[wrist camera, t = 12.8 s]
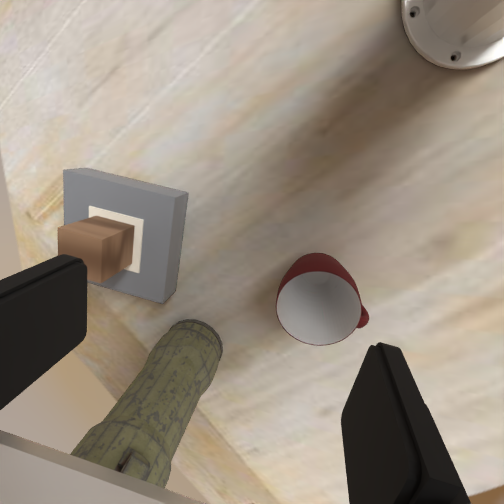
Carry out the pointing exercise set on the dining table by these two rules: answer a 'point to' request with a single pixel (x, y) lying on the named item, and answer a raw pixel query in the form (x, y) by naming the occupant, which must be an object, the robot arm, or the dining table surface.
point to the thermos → (156, 406)
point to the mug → (319, 301)
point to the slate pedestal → (142, 217)
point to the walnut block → (98, 245)
